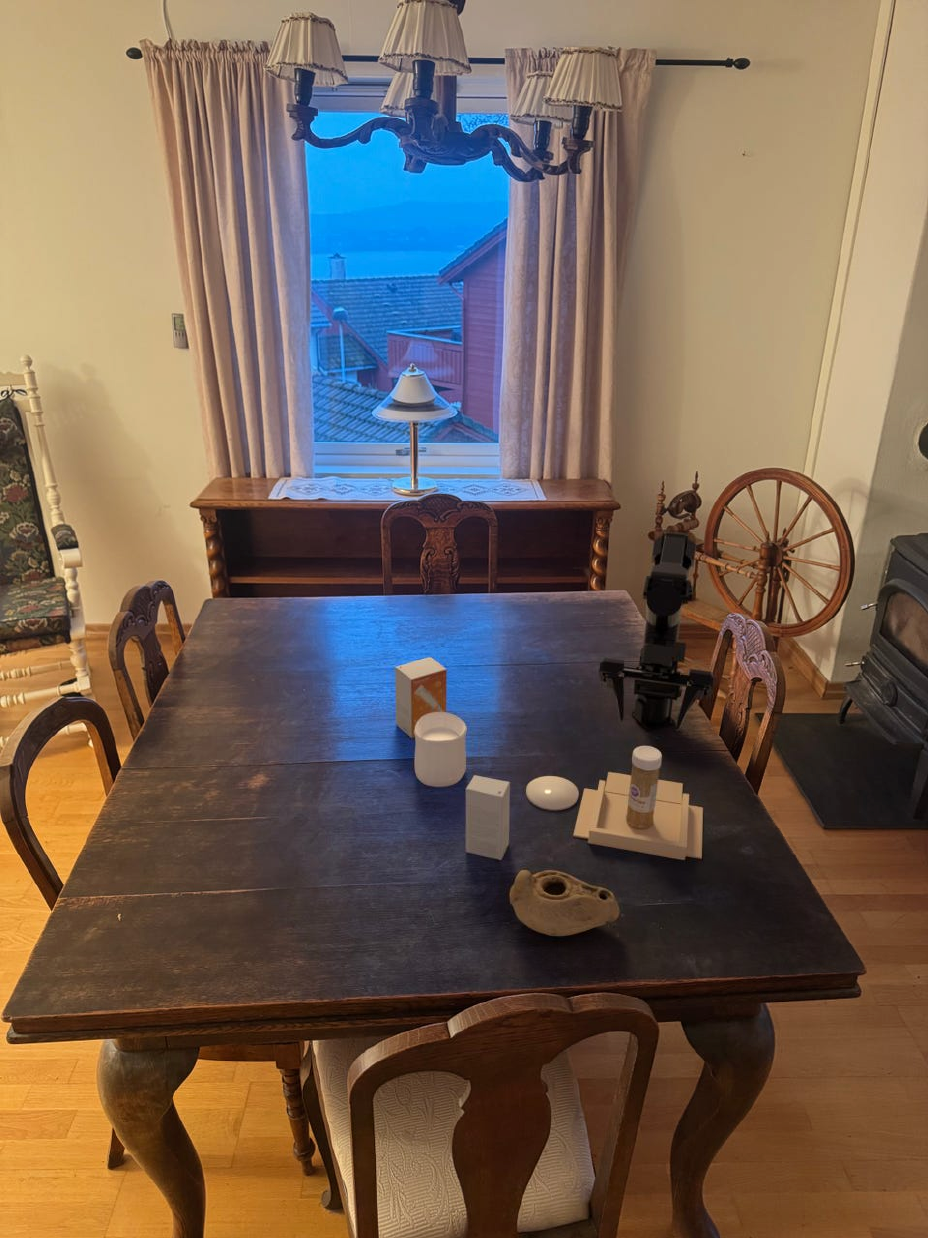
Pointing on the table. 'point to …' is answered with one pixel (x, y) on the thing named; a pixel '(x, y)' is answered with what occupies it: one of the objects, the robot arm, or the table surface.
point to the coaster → (552, 793)
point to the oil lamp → (560, 903)
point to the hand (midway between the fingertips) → (649, 725)
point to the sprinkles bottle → (643, 786)
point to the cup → (440, 749)
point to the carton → (666, 837)
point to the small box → (419, 692)
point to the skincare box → (487, 817)
